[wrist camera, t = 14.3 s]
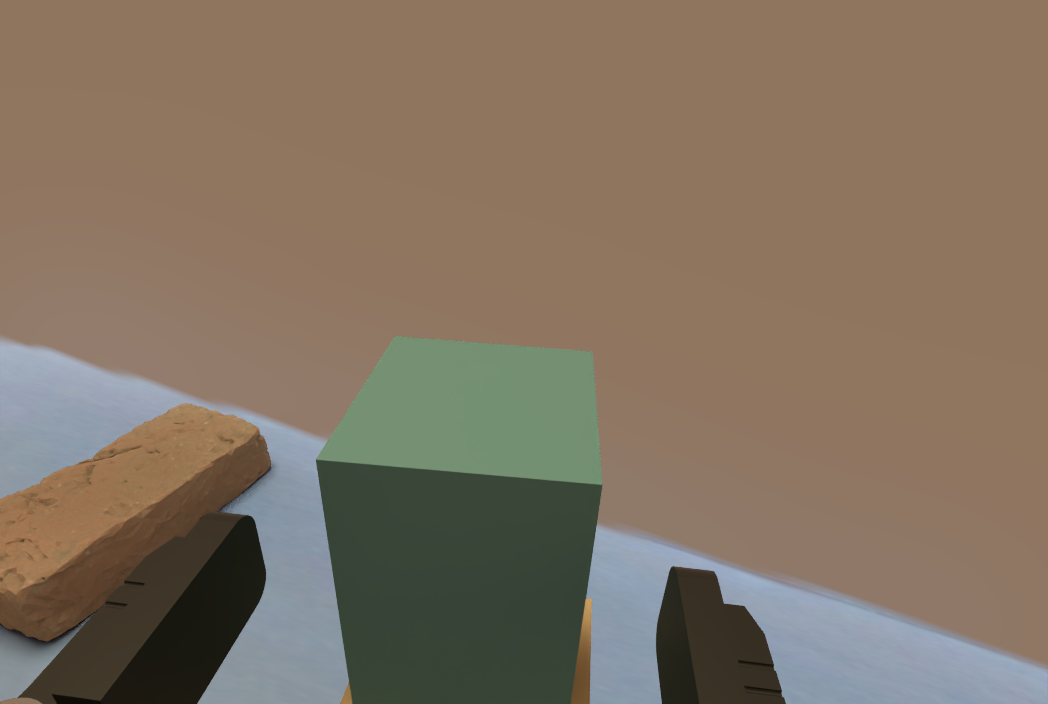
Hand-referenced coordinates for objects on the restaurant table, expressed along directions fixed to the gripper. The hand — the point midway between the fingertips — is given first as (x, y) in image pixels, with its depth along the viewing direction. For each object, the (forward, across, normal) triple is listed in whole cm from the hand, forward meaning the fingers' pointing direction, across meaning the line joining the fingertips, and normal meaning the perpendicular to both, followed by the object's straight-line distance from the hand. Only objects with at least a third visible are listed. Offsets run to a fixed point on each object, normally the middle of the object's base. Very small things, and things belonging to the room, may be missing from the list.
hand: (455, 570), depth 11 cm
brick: (+18, +25, +20) cm, 37 cm away
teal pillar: (+3, 0, +8) cm, 8 cm away
